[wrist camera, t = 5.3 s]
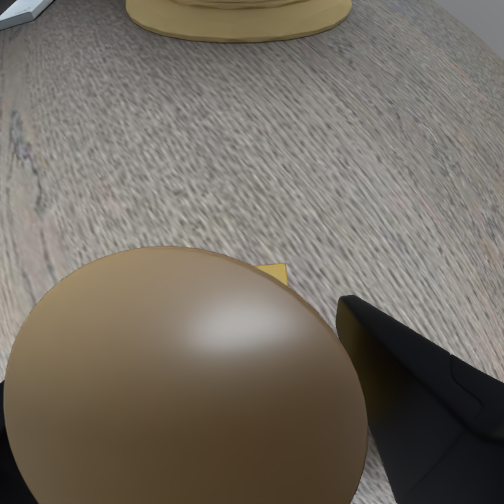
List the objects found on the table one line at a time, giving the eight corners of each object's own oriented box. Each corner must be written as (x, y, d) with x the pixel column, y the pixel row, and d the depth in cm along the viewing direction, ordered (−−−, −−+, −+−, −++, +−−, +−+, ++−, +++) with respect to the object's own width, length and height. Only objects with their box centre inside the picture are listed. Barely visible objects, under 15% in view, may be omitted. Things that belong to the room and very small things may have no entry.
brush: (182, 438, 13) (37, 634, 1) (168, 293, 15) (-21, 106, 3) (290, 429, 13) (443, 624, 1) (274, 284, 15) (385, 52, 3)
